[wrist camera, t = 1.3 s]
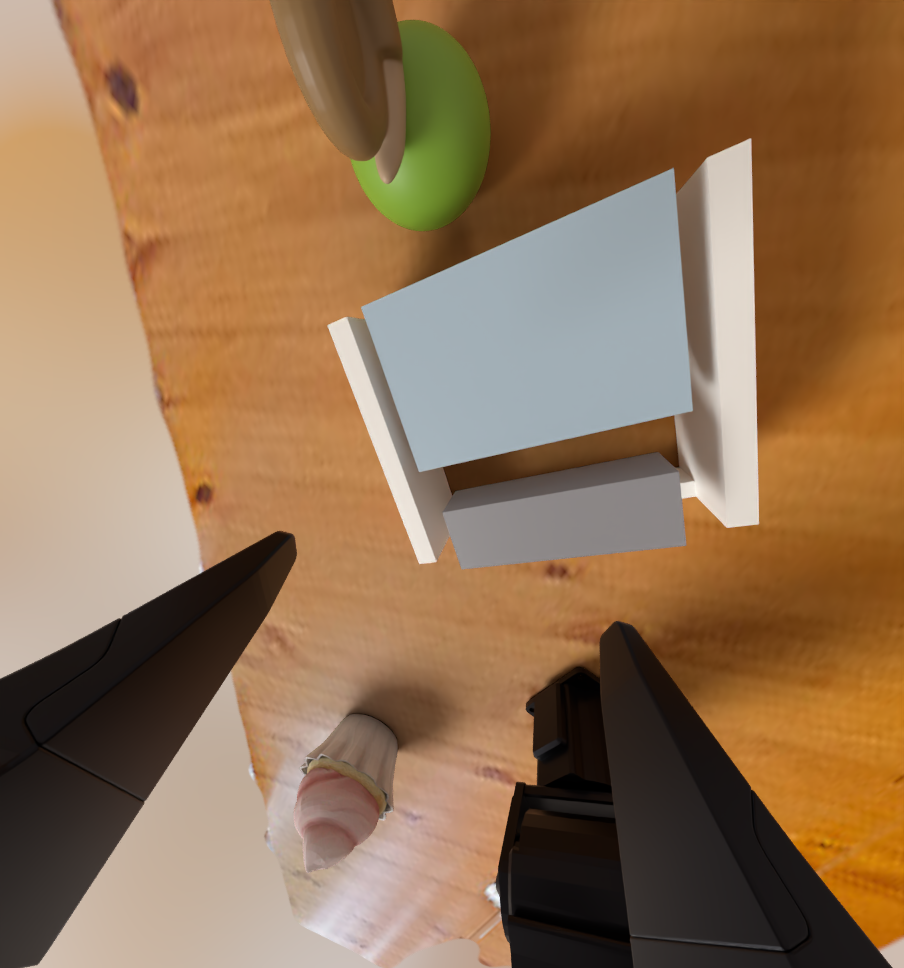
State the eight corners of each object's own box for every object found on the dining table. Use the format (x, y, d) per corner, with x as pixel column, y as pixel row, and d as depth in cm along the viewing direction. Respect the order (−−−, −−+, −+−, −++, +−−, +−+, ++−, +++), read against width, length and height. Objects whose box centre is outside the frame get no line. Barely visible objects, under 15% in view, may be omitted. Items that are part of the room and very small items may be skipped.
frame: (683, 207, 13) (751, 138, 9) (703, 477, 17) (759, 524, 13) (380, 330, 18) (327, 325, 14) (445, 519, 22) (419, 563, 17)
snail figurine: (498, 40, 13) (277, -1371, 2) (499, 237, 15) (393, -10, 5) (373, 78, 14) (-126, -693, 4) (392, 253, 17) (122, 92, 6)
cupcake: (315, 720, 36) (239, 845, 27) (357, 688, 32) (283, 823, 23) (381, 772, 36) (327, 911, 28) (430, 748, 32) (386, 902, 23)
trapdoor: (656, 191, 11) (684, 152, 9) (686, 513, 14) (711, 543, 12) (379, 310, 14) (350, 304, 12) (457, 543, 18) (445, 571, 16)
